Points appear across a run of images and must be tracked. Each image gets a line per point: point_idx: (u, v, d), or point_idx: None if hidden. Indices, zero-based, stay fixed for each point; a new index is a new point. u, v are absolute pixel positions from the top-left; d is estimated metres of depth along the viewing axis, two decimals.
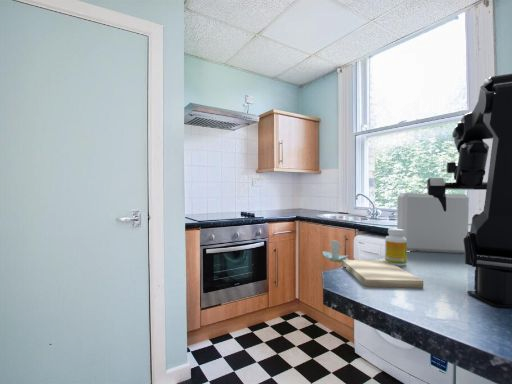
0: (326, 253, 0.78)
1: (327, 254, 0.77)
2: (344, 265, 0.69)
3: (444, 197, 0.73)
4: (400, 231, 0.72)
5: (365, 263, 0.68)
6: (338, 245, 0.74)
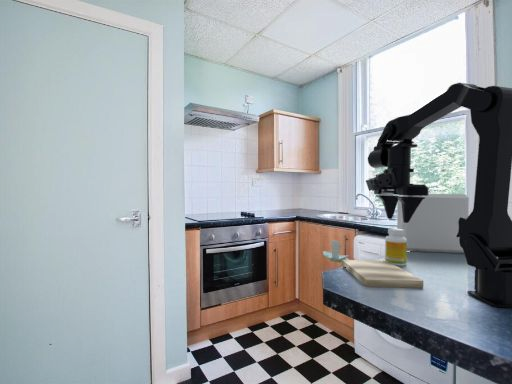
0: (326, 253, 0.78)
1: (327, 254, 0.77)
2: (344, 265, 0.69)
3: None
4: (400, 231, 0.72)
5: (365, 263, 0.68)
6: (338, 245, 0.74)
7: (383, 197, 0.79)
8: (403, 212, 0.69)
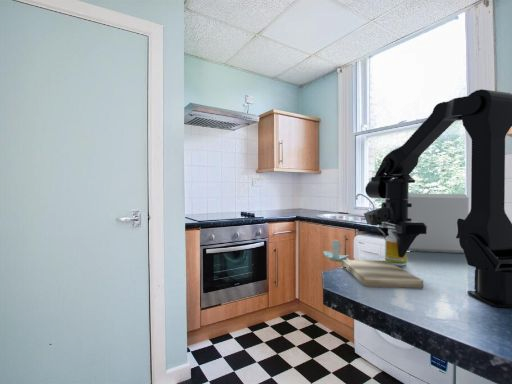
0: (327, 253, 0.78)
1: (328, 254, 0.78)
2: (344, 265, 0.69)
3: None
4: None
5: (365, 263, 0.68)
6: (339, 245, 0.75)
7: (384, 230, 0.77)
8: (398, 247, 0.70)
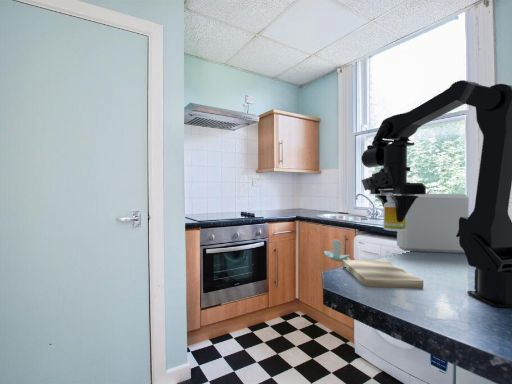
0: (328, 252, 0.78)
1: (329, 253, 0.78)
2: (344, 265, 0.69)
3: None
4: None
5: (365, 263, 0.68)
6: (339, 244, 0.75)
7: (382, 197, 0.75)
8: (397, 211, 0.68)
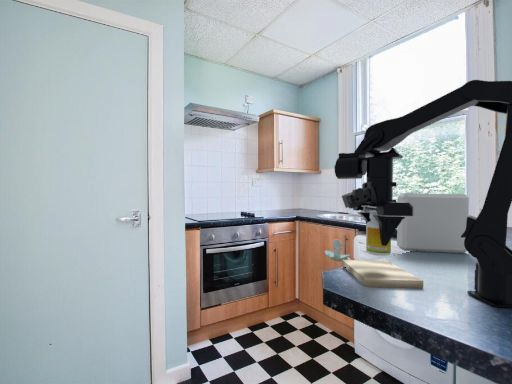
0: (328, 252, 0.79)
1: (329, 253, 0.78)
2: (344, 265, 0.69)
3: None
4: None
5: (365, 263, 0.68)
6: (340, 244, 0.75)
7: (365, 215, 0.66)
8: (381, 233, 0.59)
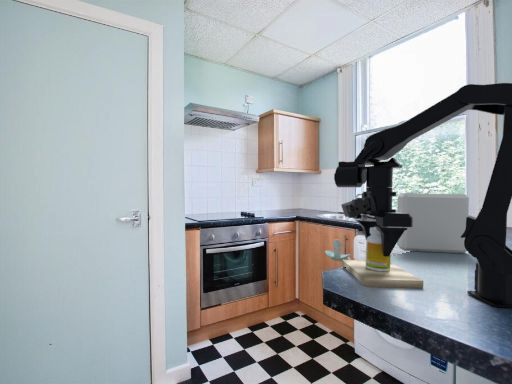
0: (328, 252, 0.79)
1: (329, 253, 0.79)
2: (344, 265, 0.69)
3: None
4: None
5: (365, 263, 0.68)
6: (340, 244, 0.75)
7: (363, 223, 0.68)
8: (383, 244, 0.58)
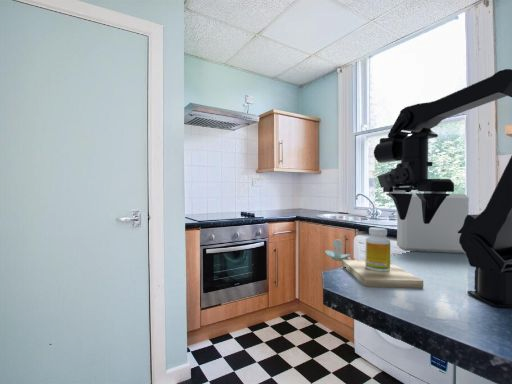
0: (329, 252, 0.79)
1: (330, 253, 0.79)
2: (344, 265, 0.69)
3: None
4: (382, 231, 0.61)
5: None
6: (341, 244, 0.76)
7: (395, 195, 0.70)
8: (424, 211, 0.59)
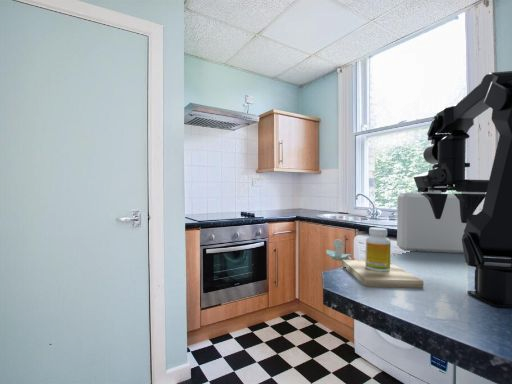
0: (329, 252, 0.79)
1: (330, 253, 0.79)
2: (344, 265, 0.69)
3: None
4: (382, 231, 0.61)
5: None
6: (341, 244, 0.76)
7: (430, 195, 0.72)
8: (462, 211, 0.61)
